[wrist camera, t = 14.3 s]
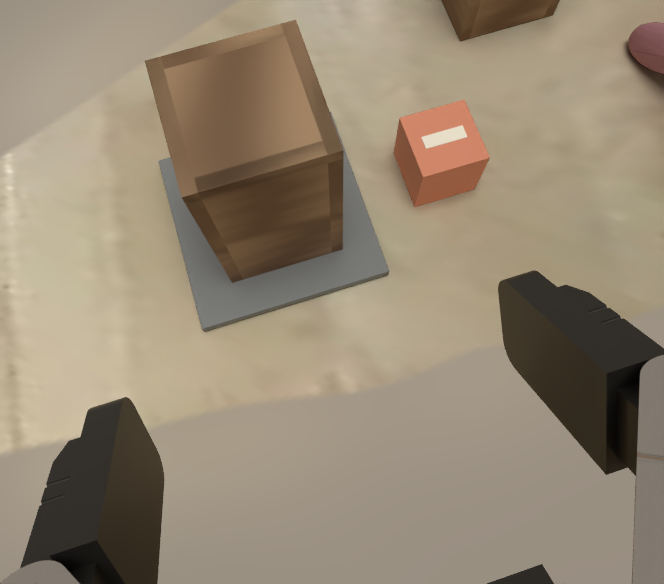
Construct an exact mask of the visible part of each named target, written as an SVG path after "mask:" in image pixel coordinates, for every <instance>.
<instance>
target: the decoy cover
mask: <svg viewBox="0 0 664 584" xmlns="http://www.w3.org/2000/svg"><path fill="white" fill-rule="evenodd" d="M559 1H560V0H442V3H443V5H444V7H445V9H446V11H447V13H448V16H449V18H450V20H451V22H452V24H453V26H454V29H455V31H456V33H457V35H458V37H459V39H460V41H462V40H466V39H469V38H473V37H476V36H480V35H483V34H487V33H490V32H494V31H498V30H501V29H505V28H508V27H512V26H515V25H519V24H522V23H526V22H530V21H533V20H537V19H540V18H544V17H547V16H551V15H553V14H554V11H555V9H556V7H557V5H558V3H559Z"/></svg>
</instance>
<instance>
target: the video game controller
mask: <svg viewBox="0 0 664 584" xmlns="http://www.w3.org/2000/svg"><path fill="white" fill-rule="evenodd" d="M629 50H630V52H631V54H632V55H633V56H634V58H635V59H636V60H637V61H638V62H639V63H641V64H642V65H643V66H645V67H647V68H649V69H650V70H652V71H655V72H658V73H661V74H664V23H658V22H652V23H647V24H643V25H640V26H639V27H637V28H636V29H635V30H634V31H633V32H632V34H631V35H630V38H629Z"/></svg>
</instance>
